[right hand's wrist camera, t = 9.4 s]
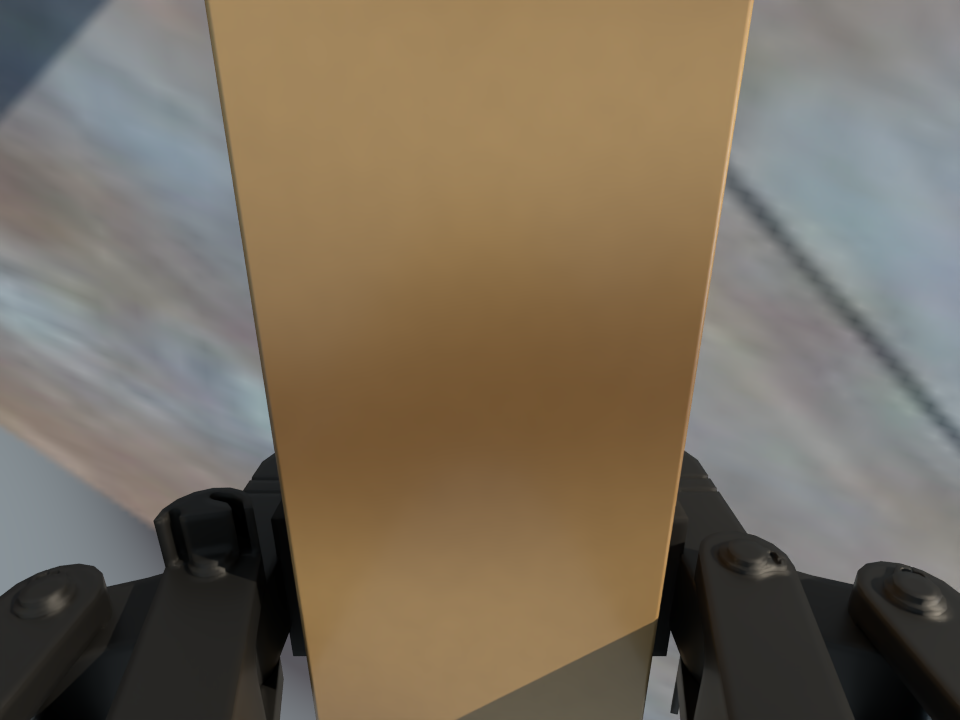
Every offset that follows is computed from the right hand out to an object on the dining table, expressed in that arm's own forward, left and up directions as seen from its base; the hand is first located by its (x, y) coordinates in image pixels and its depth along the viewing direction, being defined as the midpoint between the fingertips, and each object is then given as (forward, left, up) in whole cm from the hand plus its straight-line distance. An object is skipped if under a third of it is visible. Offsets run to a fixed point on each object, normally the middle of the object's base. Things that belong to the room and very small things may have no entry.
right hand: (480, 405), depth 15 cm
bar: (+8, +2, -1) cm, 8 cm away
